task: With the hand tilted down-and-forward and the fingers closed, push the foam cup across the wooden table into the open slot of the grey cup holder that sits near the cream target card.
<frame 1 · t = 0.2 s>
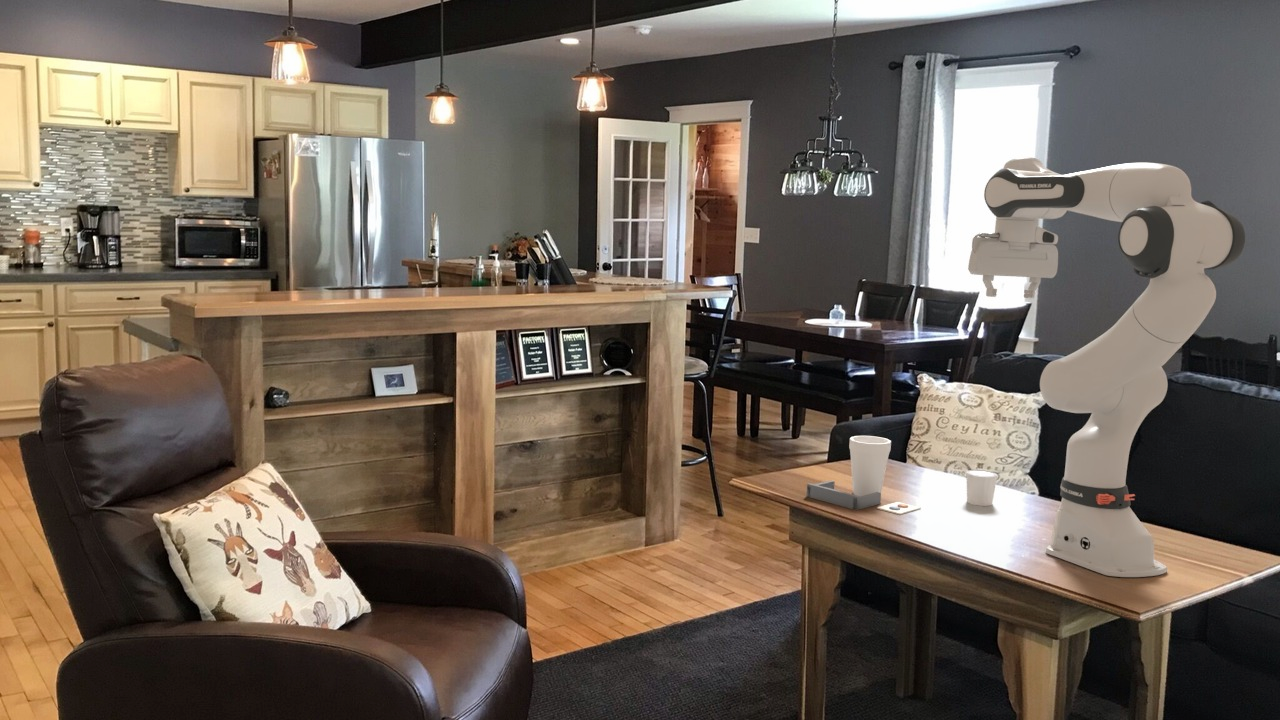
hand: (1010, 297, 233), 48 cm above the table, tool pointing down, fingers open, 8 cm apart
grey cup holder: (849, 498, 244), on the table
foam cup: (866, 494, 249), on the table
shot glass: (979, 503, 245), on the table
target card: (898, 508, 237), on the table
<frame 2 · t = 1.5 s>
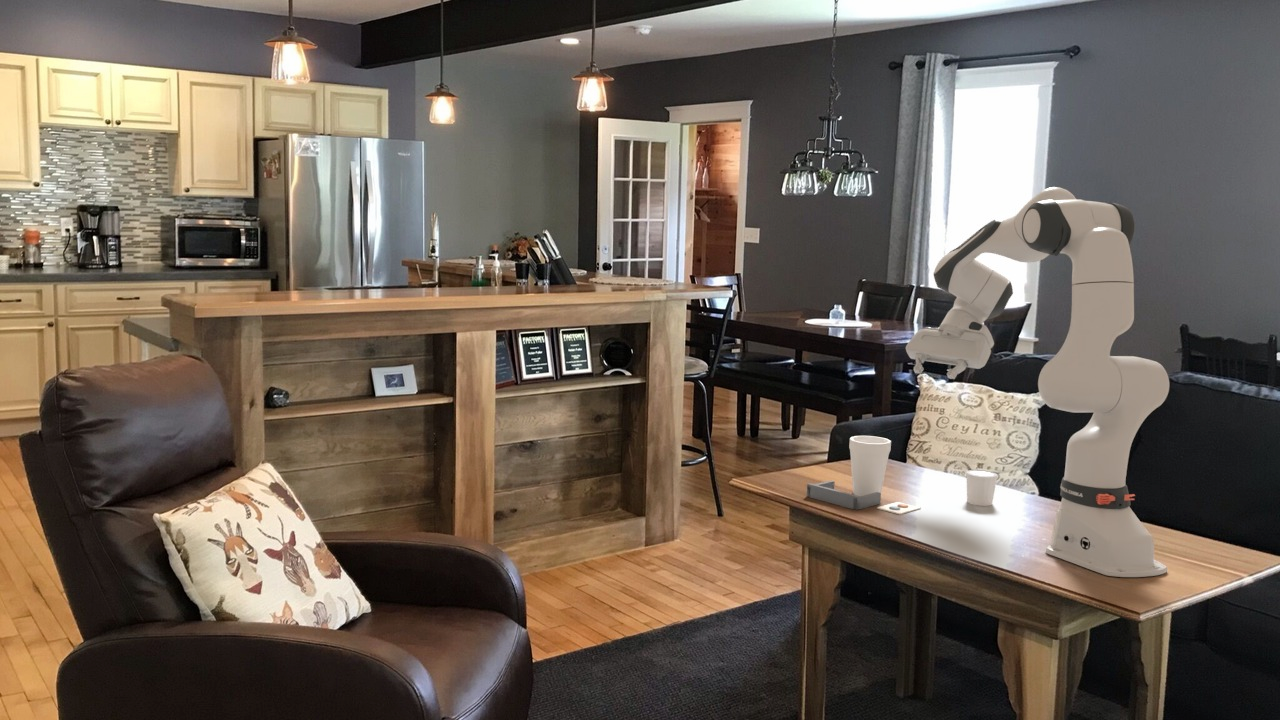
hand: (933, 374, 251), 28 cm above the table, tool tilted 45°, fingers open, 8 cm apart
nothing on the table moved.
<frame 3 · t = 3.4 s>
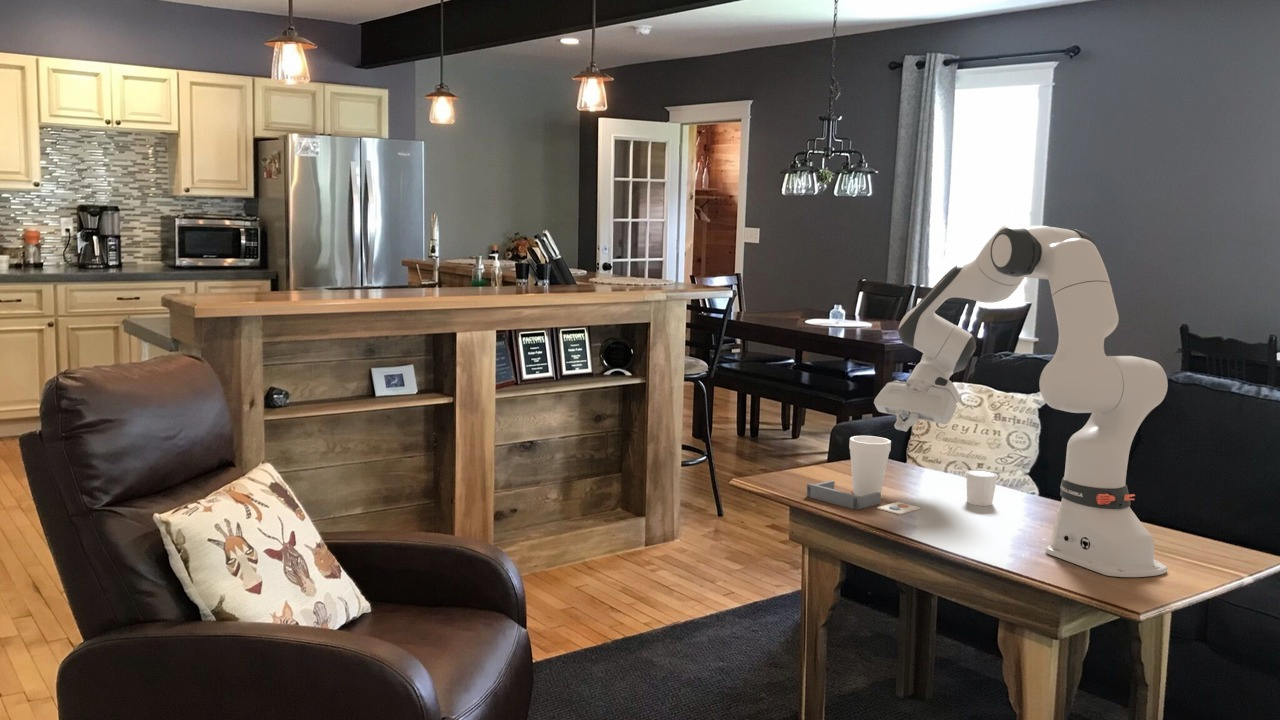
hand: (900, 428, 255), 14 cm above the table, tool tilted 45°, fingers closed
nothing on the table moved.
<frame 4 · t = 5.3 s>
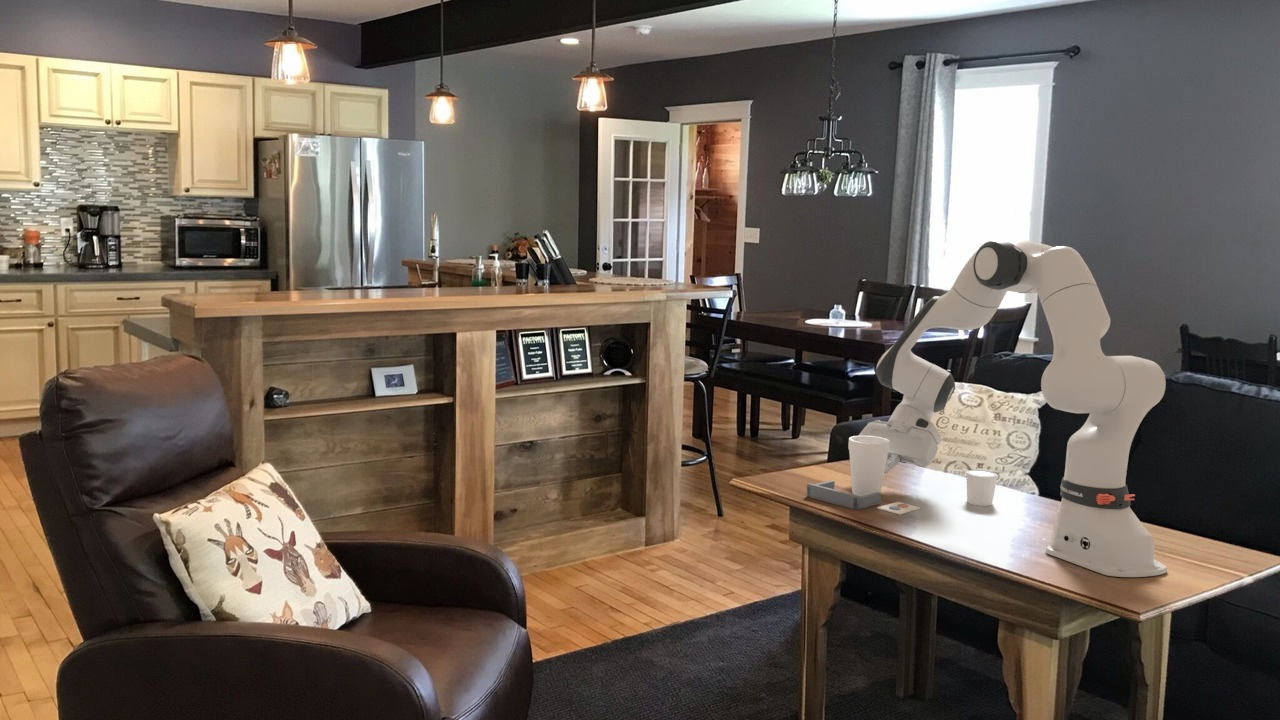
hand: (880, 471, 252), 5 cm above the table, tool tilted 45°, fingers closed, pressing on foam cup
foam cup: (865, 494, 249), on the table, touching gripper
everything else where it was.
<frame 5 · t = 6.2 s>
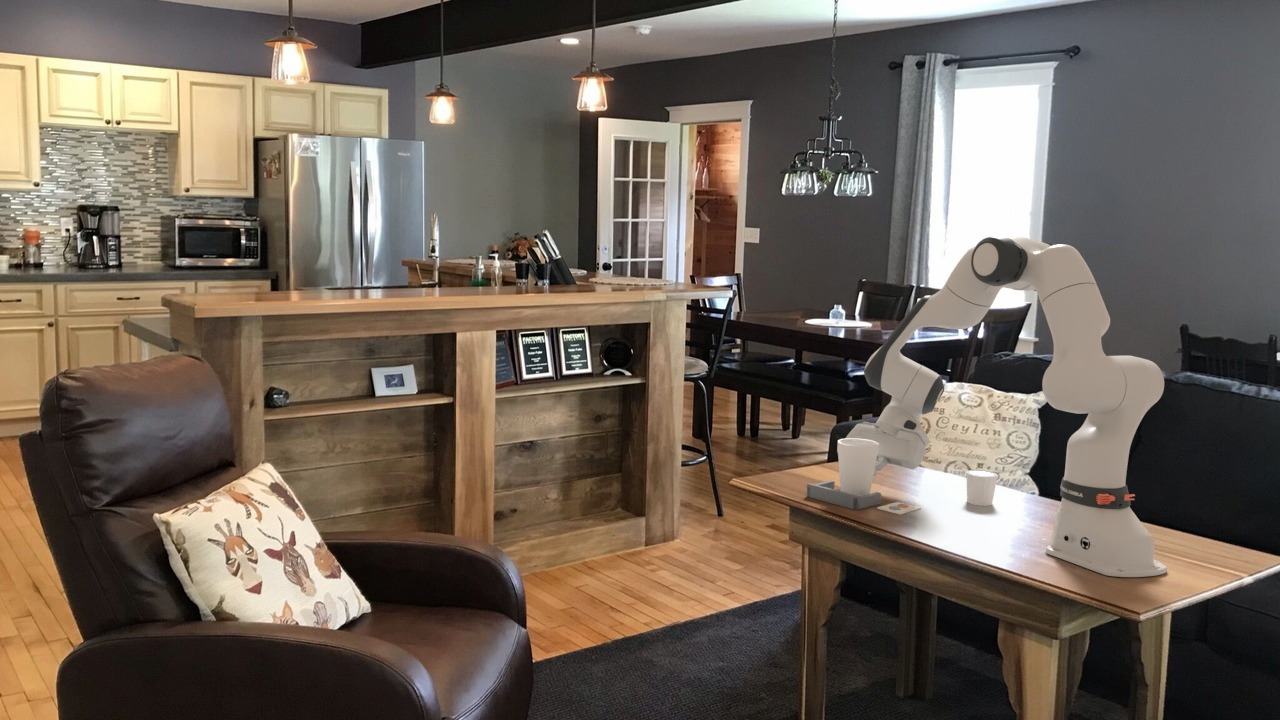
hand: (867, 473, 248), 5 cm above the table, tool tilted 45°, fingers closed, pressing on foam cup
foam cup: (854, 498, 245), on the table, touching gripper
everything else where it was.
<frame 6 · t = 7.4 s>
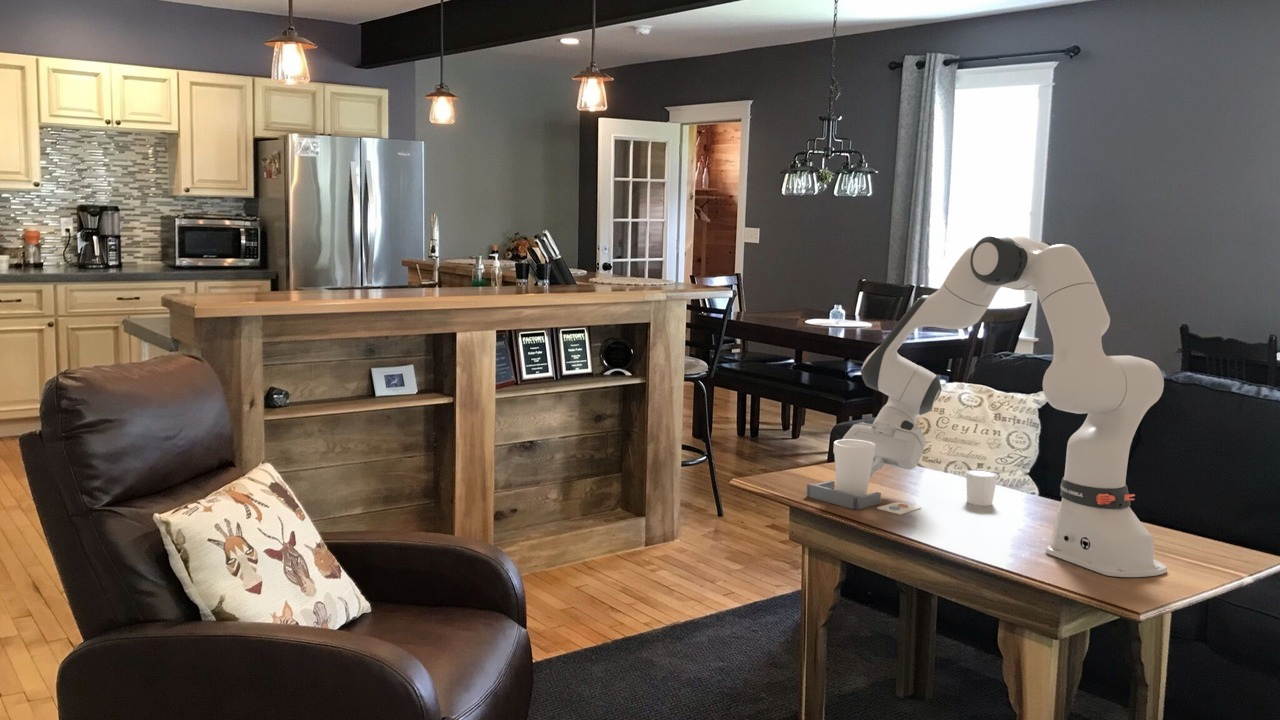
hand: (864, 474, 247), 5 cm above the table, tool tilted 45°, fingers closed
foam cup: (851, 499, 244), on the table
everything else where it was.
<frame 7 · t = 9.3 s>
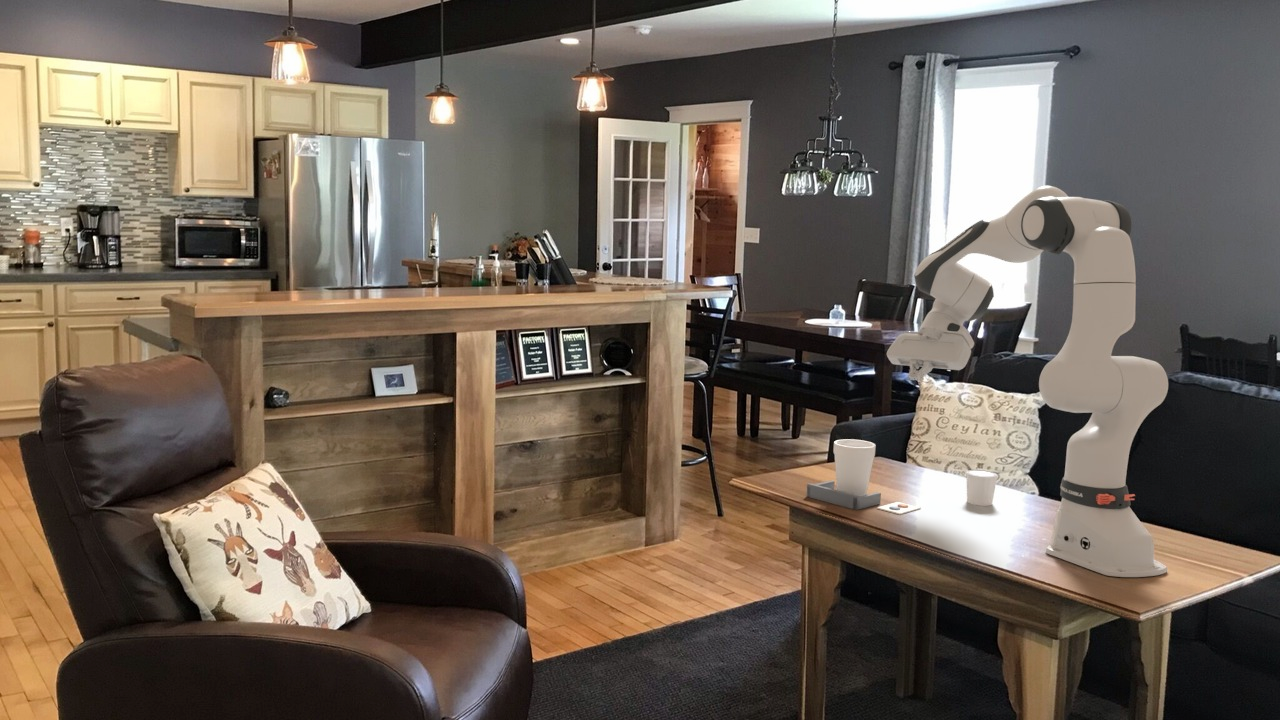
hand: (914, 378, 249), 27 cm above the table, tool tilted 40°, fingers closed
nothing on the table moved.
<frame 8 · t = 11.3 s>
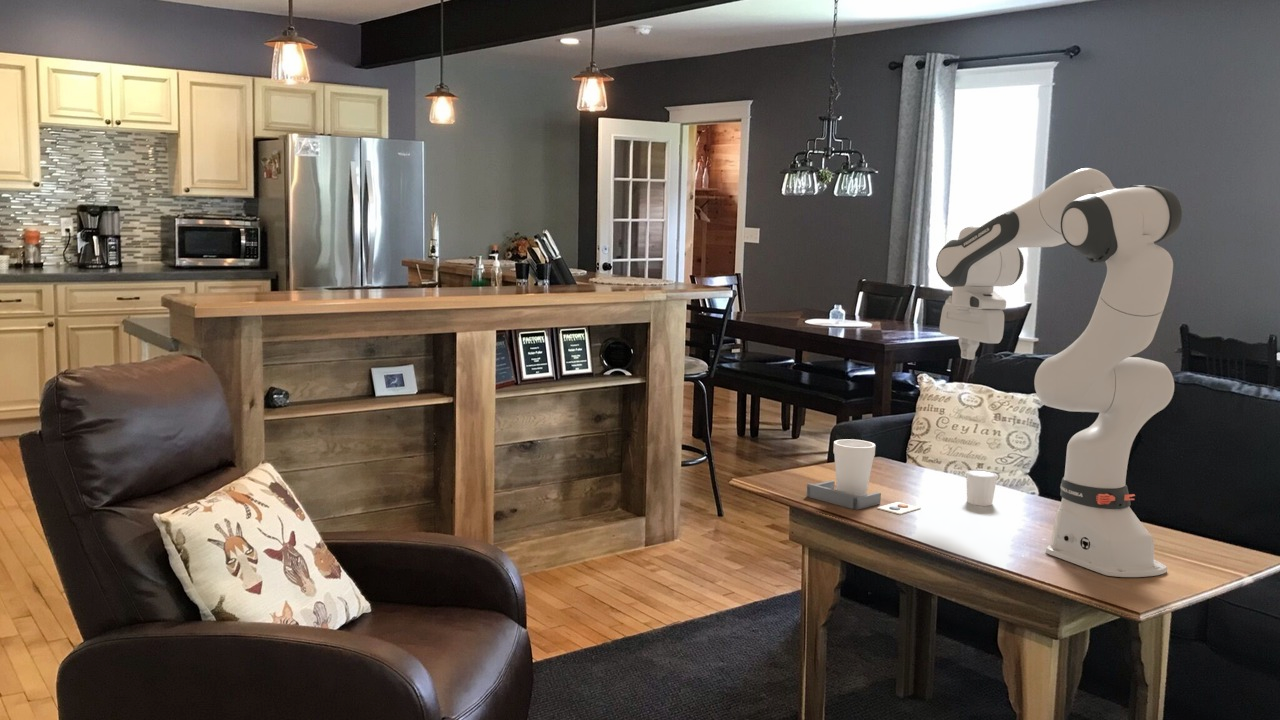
hand: (967, 358, 242), 33 cm above the table, tool pointing down, fingers closed
nothing on the table moved.
at the end: foam cup 0.4 cm from the grey cup holder (horizontally); foam cup tilted 0° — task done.
